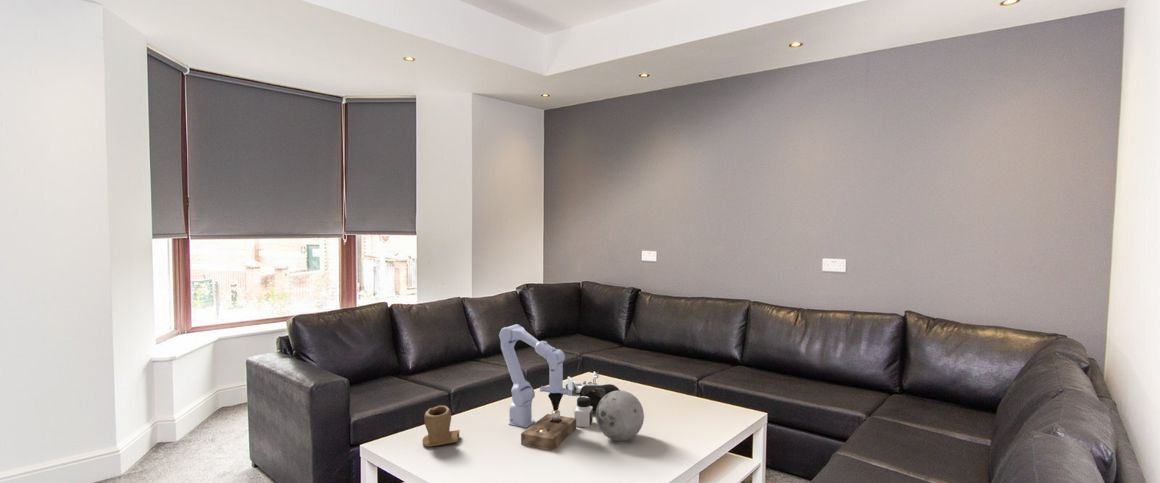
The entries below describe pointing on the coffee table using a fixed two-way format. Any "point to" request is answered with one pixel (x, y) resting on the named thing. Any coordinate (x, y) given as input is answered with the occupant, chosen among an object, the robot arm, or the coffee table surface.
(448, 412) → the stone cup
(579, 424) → the medicine bottle
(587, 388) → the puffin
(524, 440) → the socket block
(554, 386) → the robot arm
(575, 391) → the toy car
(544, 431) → the peg near
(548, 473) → the coffee table surface
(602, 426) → the moon model
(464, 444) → the coffee table surface
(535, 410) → the coffee table surface
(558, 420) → the peg far
